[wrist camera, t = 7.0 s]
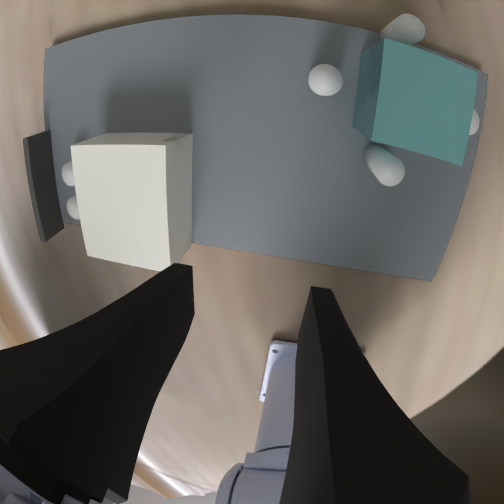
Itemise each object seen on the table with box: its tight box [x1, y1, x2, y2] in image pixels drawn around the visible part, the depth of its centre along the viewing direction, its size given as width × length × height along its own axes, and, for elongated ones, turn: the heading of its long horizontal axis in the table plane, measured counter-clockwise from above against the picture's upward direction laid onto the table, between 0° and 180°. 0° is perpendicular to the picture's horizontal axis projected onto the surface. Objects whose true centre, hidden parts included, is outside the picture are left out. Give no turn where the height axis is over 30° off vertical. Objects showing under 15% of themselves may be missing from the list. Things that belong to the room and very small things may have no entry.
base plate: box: [23, 14, 488, 282], centre depth 14 cm, size 15×28×4 cm, turn 85°
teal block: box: [352, 38, 478, 166], centre depth 10 cm, size 4×4×5 cm
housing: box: [71, 132, 193, 271], centre depth 16 cm, size 7×6×4 cm
